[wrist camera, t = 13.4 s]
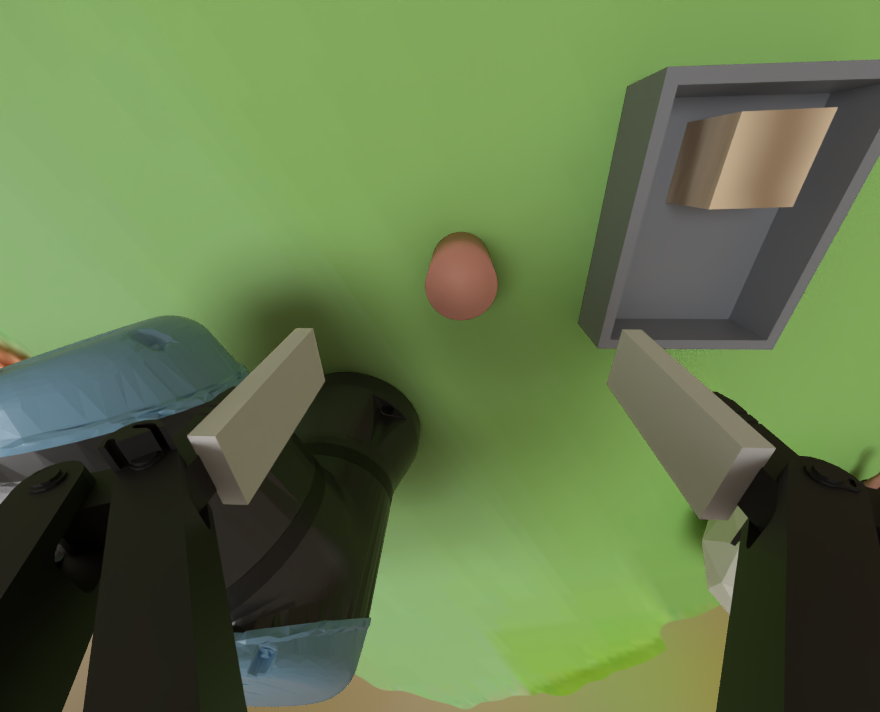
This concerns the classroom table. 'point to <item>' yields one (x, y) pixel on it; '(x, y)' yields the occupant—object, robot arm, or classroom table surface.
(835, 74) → the tote
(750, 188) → the wooden cube
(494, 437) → the classroom table surface
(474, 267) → the red cylinder
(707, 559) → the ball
